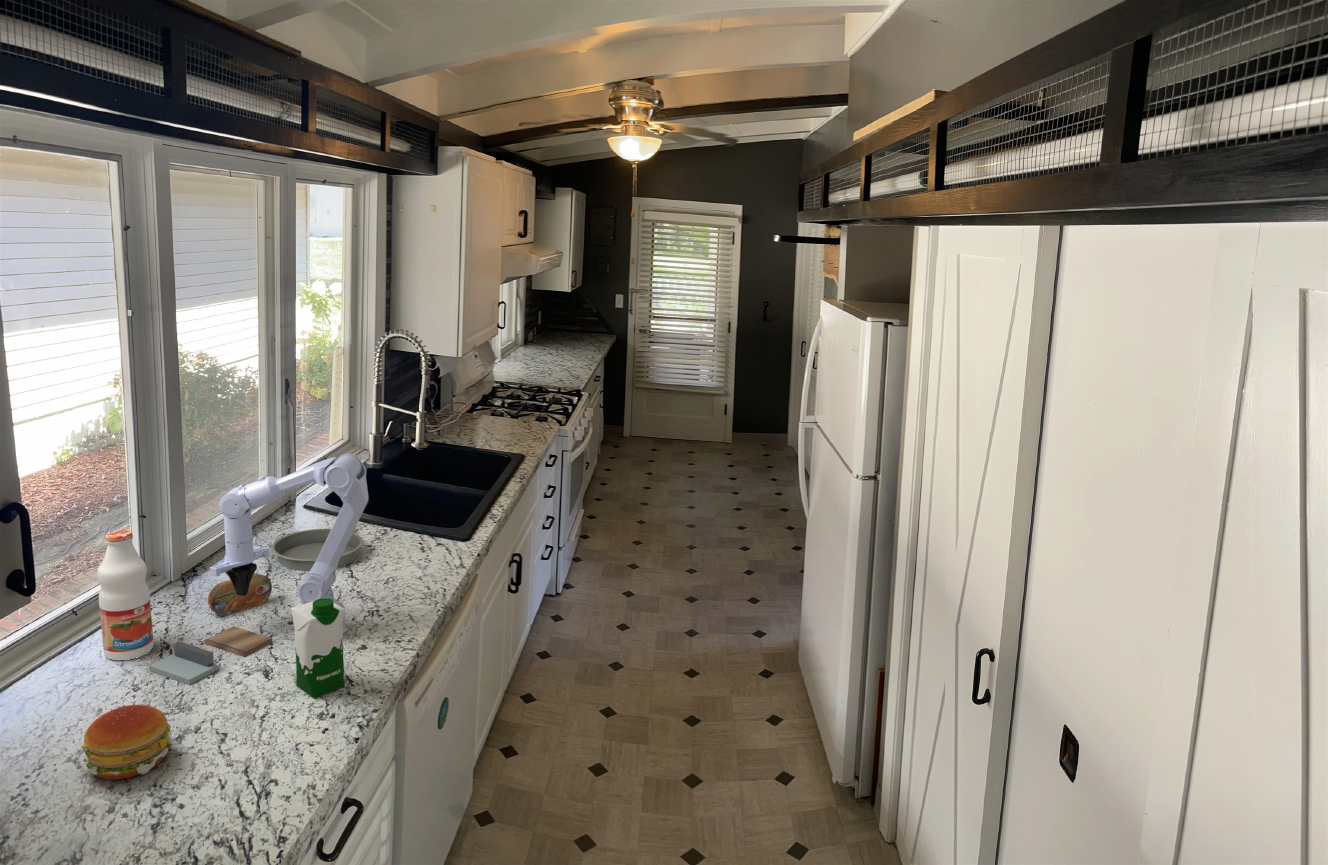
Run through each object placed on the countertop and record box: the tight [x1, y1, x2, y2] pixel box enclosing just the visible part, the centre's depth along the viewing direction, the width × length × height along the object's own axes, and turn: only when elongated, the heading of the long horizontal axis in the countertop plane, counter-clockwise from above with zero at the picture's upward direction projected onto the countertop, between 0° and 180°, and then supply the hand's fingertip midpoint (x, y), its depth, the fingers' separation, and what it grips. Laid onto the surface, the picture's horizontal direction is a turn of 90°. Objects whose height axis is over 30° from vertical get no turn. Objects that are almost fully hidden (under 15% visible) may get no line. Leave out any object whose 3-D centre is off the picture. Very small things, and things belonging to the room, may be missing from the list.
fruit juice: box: [96, 529, 154, 660], centre depth 185 cm, size 9×9×28 cm
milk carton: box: [291, 598, 345, 699], centre depth 178 cm, size 9×9×20 cm
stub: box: [148, 641, 219, 686], centre depth 182 cm, size 12×7×4 cm, turn 68°
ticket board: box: [203, 626, 273, 658], centre depth 195 cm, size 12×8×1 cm, turn 68°
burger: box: [81, 704, 173, 780], centre depth 151 cm, size 13×14×10 cm
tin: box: [207, 572, 273, 617], centre depth 211 cm, size 15×3×8 cm, turn 143°
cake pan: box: [271, 528, 364, 572], centre depth 246 cm, size 25×25×4 cm
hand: (241, 594), depth 199 cm, fingers closed
